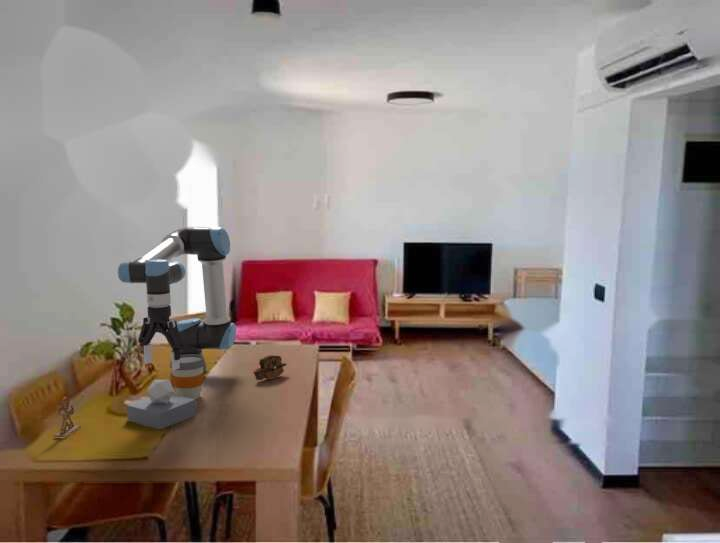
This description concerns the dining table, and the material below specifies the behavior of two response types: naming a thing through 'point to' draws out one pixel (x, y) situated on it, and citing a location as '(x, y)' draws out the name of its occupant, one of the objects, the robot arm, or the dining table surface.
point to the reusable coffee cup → (188, 376)
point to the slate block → (161, 411)
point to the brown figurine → (71, 426)
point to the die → (160, 391)
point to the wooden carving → (269, 368)
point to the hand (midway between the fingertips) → (161, 366)
